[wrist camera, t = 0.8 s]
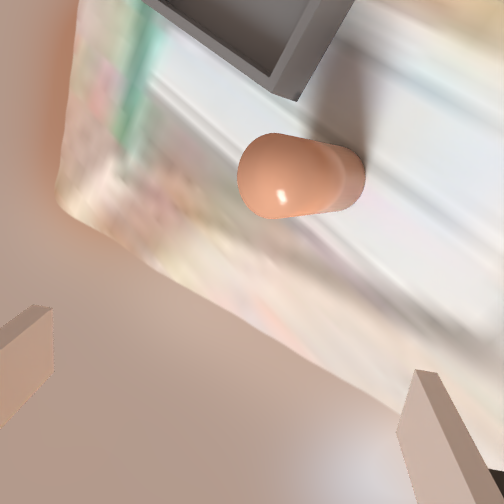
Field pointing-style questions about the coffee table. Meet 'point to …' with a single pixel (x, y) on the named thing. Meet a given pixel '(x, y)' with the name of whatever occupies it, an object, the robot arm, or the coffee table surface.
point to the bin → (262, 35)
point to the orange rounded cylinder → (298, 177)
